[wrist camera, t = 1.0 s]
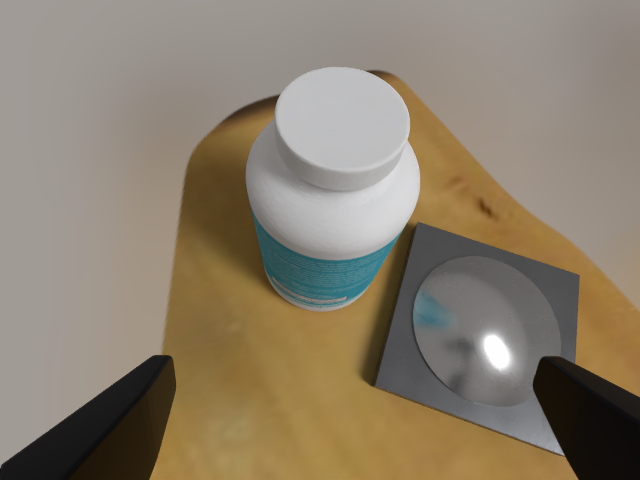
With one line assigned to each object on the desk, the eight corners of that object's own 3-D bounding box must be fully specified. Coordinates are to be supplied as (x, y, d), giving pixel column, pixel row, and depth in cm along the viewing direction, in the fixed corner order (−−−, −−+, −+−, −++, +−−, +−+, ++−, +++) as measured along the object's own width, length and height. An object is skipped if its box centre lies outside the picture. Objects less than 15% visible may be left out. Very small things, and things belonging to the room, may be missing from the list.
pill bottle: (390, 296, 24) (491, 182, 12) (280, 329, 23) (263, 240, 10) (352, 199, 27) (401, 25, 15) (252, 224, 26) (212, 56, 13)
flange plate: (558, 455, 21) (572, 458, 20) (371, 386, 22) (376, 385, 21) (569, 279, 25) (581, 274, 24) (413, 228, 26) (419, 220, 25)
